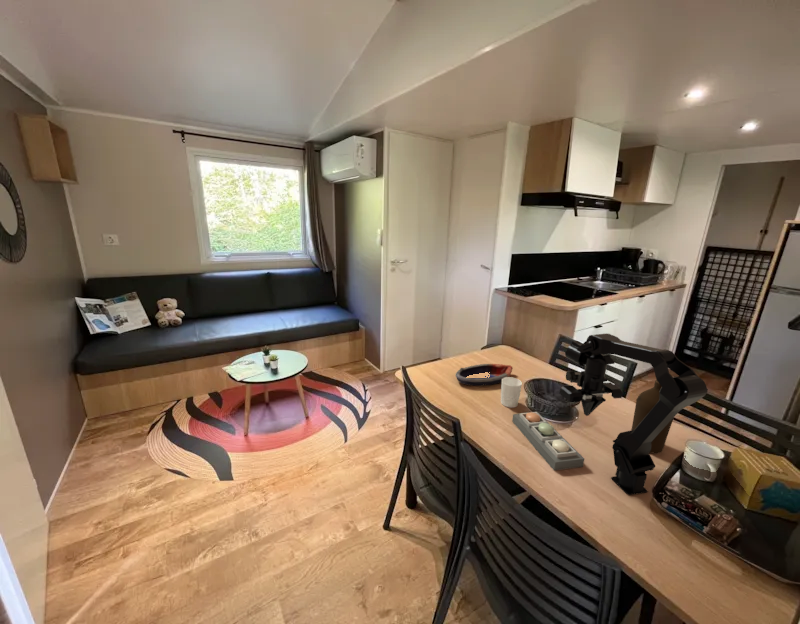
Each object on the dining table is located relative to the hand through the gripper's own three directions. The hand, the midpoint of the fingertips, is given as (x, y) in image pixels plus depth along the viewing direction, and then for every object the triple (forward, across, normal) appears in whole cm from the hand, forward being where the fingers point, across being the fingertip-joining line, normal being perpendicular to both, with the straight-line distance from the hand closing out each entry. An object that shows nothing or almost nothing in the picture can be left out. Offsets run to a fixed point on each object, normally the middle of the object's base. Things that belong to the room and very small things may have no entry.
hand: (586, 415), depth 112 cm
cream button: (+9, +11, +4) cm, 15 cm away
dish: (+13, +12, -51) cm, 54 cm away
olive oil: (+12, -23, +3) cm, 26 cm away
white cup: (+12, +11, -29) cm, 33 cm away
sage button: (+8, +11, -4) cm, 14 cm away
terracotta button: (+9, +11, -12) cm, 18 cm away
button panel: (+12, +11, -4) cm, 17 cm away
